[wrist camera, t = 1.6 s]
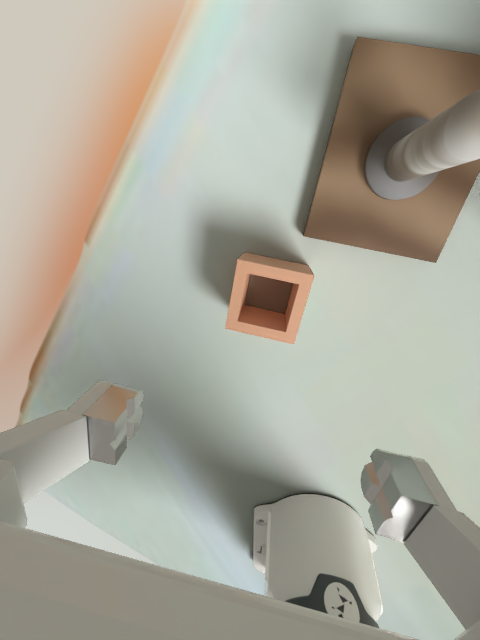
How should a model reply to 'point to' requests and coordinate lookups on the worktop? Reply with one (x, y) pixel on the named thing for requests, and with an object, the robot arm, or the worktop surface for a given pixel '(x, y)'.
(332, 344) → the worktop surface
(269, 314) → the ring
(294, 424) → the worktop surface
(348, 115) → the post board
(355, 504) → the worktop surface
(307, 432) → the worktop surface
